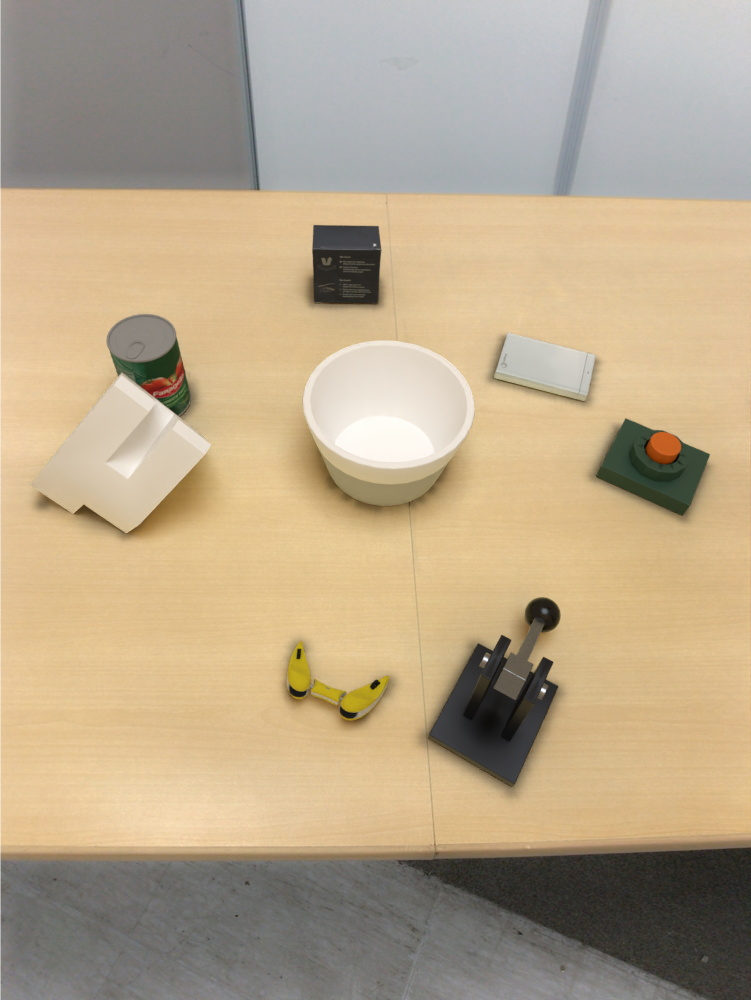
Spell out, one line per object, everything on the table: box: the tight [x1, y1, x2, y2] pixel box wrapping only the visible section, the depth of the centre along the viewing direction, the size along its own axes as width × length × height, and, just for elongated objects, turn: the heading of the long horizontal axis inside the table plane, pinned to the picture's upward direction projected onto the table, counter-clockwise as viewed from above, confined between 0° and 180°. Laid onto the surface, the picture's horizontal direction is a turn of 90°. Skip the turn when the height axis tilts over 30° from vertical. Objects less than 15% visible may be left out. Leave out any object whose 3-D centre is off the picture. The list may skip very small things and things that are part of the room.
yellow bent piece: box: [285, 640, 391, 722], centre depth 73 cm, size 10×6×4 cm, turn 68°
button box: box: [595, 417, 711, 516], centre depth 90 cm, size 11×9×4 cm
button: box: [646, 431, 681, 464], centre depth 88 cm, size 4×4×2 cm
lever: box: [493, 596, 562, 700], centre depth 71 cm, size 15×4×4 cm
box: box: [311, 224, 382, 305], centre depth 104 cm, size 9×6×10 cm, turn 92°
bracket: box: [427, 634, 559, 788], centre depth 69 cm, size 11×9×12 cm
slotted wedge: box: [29, 373, 212, 534], centre depth 81 cm, size 14×11×18 cm
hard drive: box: [493, 331, 597, 402], centre depth 100 cm, size 2×8×12 cm
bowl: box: [301, 339, 476, 507], centre depth 87 cm, size 19×19×11 cm
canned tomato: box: [105, 313, 192, 418], centre depth 90 cm, size 8×8×11 cm
